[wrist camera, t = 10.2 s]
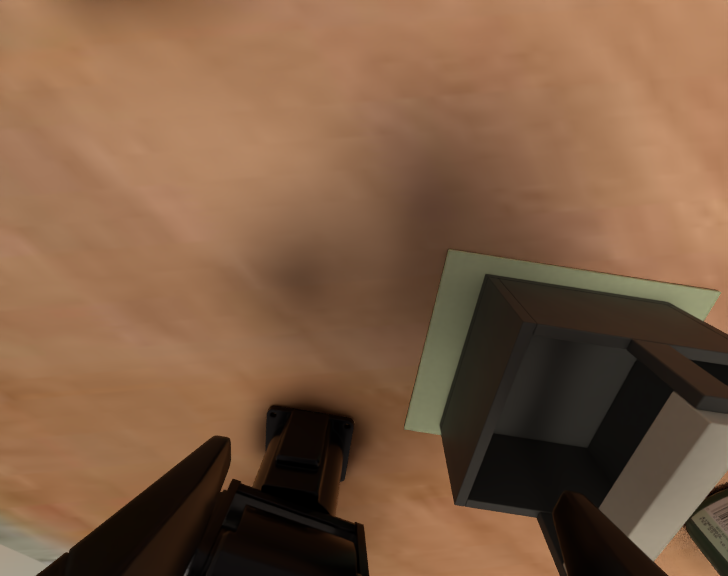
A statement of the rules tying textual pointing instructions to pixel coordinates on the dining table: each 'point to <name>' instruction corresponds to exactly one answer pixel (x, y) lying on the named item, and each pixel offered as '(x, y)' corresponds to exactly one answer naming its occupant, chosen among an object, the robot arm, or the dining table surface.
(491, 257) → the mat
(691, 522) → the coffee jar
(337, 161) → the dining table surface
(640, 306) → the bin
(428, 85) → the dining table surface
